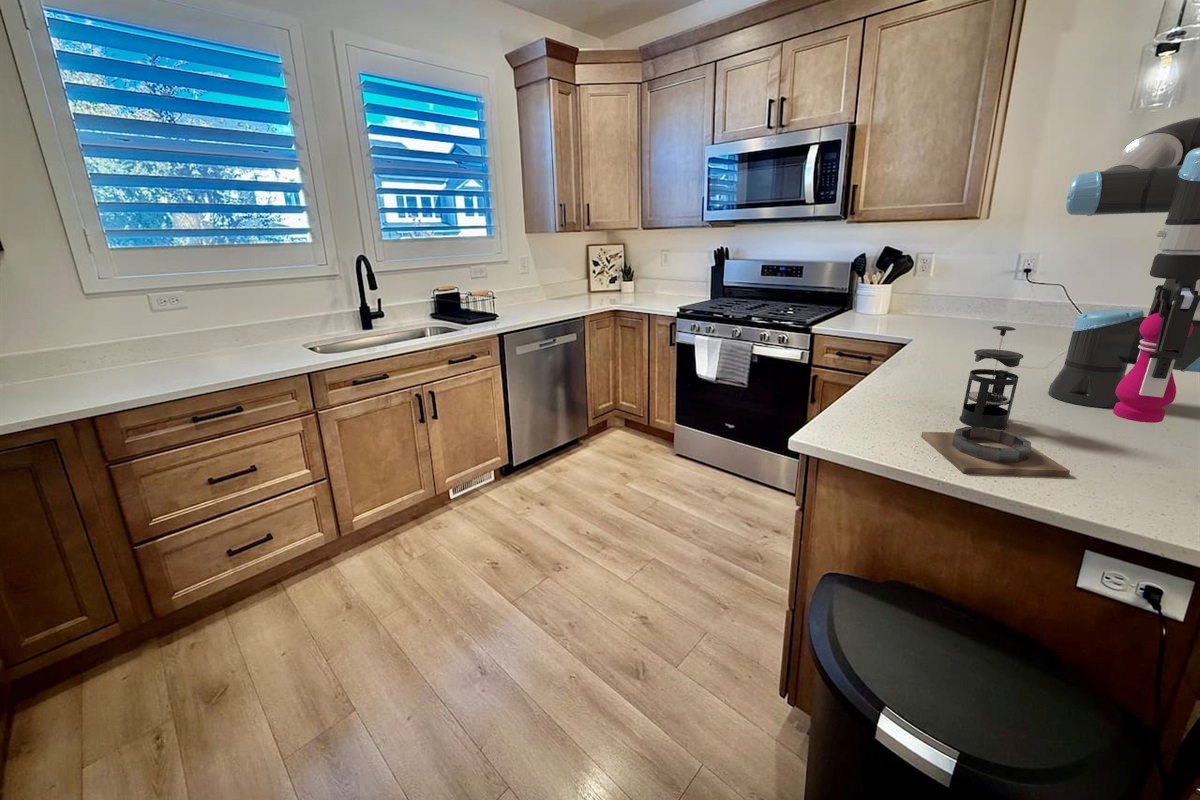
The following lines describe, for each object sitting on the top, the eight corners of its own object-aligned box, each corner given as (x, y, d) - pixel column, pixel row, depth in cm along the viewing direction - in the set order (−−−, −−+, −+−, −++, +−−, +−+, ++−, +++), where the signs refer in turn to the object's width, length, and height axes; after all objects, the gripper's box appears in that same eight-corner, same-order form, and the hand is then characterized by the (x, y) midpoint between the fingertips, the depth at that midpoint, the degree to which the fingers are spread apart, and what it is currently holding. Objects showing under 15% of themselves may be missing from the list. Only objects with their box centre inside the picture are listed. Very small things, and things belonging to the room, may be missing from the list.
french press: (997, 434, 115) (1021, 333, 107) (951, 422, 122) (970, 327, 114) (1017, 421, 121) (1040, 325, 114) (971, 411, 128) (990, 320, 121)
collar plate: (1009, 438, 112) (1010, 433, 112) (1068, 476, 95) (1070, 470, 95) (921, 436, 115) (922, 431, 114) (963, 473, 98) (964, 467, 97)
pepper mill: (1097, 411, 94) (1129, 301, 87) (1134, 408, 94) (1169, 298, 87) (1140, 425, 87) (1178, 307, 80) (1179, 422, 87) (1221, 305, 81)
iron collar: (1004, 438, 109) (1007, 427, 109) (1043, 463, 98) (1046, 451, 97) (941, 436, 111) (943, 426, 110) (972, 461, 100) (974, 450, 99)
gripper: (1143, 248, 91) (1107, 372, 98) (1171, 257, 76) (1126, 402, 83) (1205, 248, 87) (1162, 377, 94) (1249, 257, 72) (1194, 410, 79)
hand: (1145, 389), depth 89 cm, fingers closed on pepper mill, 7 cm apart
